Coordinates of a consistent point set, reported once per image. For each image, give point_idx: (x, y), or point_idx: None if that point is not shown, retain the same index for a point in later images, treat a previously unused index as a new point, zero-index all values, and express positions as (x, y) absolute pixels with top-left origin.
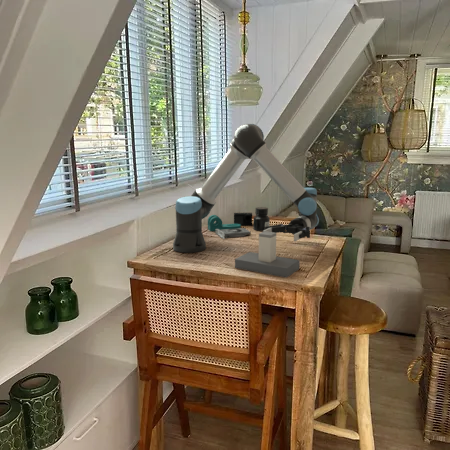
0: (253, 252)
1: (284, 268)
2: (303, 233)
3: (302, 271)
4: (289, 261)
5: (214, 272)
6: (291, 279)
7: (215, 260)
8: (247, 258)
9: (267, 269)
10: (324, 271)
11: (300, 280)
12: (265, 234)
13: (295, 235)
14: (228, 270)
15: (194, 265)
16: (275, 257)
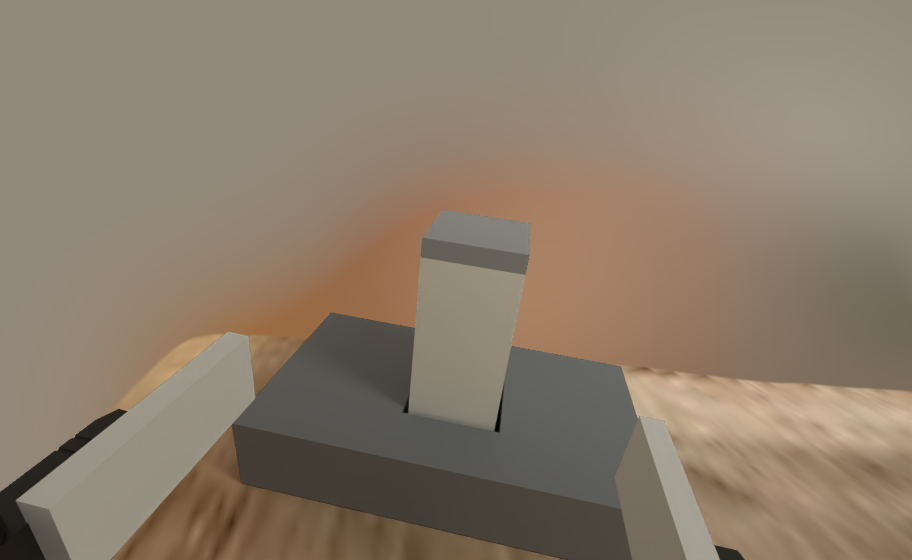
0: None
1: (342, 316)
2: (16, 491)
3: (217, 486)
4: (313, 387)
5: (653, 375)
6: None
7: (853, 538)
8: (571, 384)
9: None
10: None
11: (264, 368)
12: (482, 217)
13: (230, 340)
14: None
15: (813, 426)
16: (410, 396)
